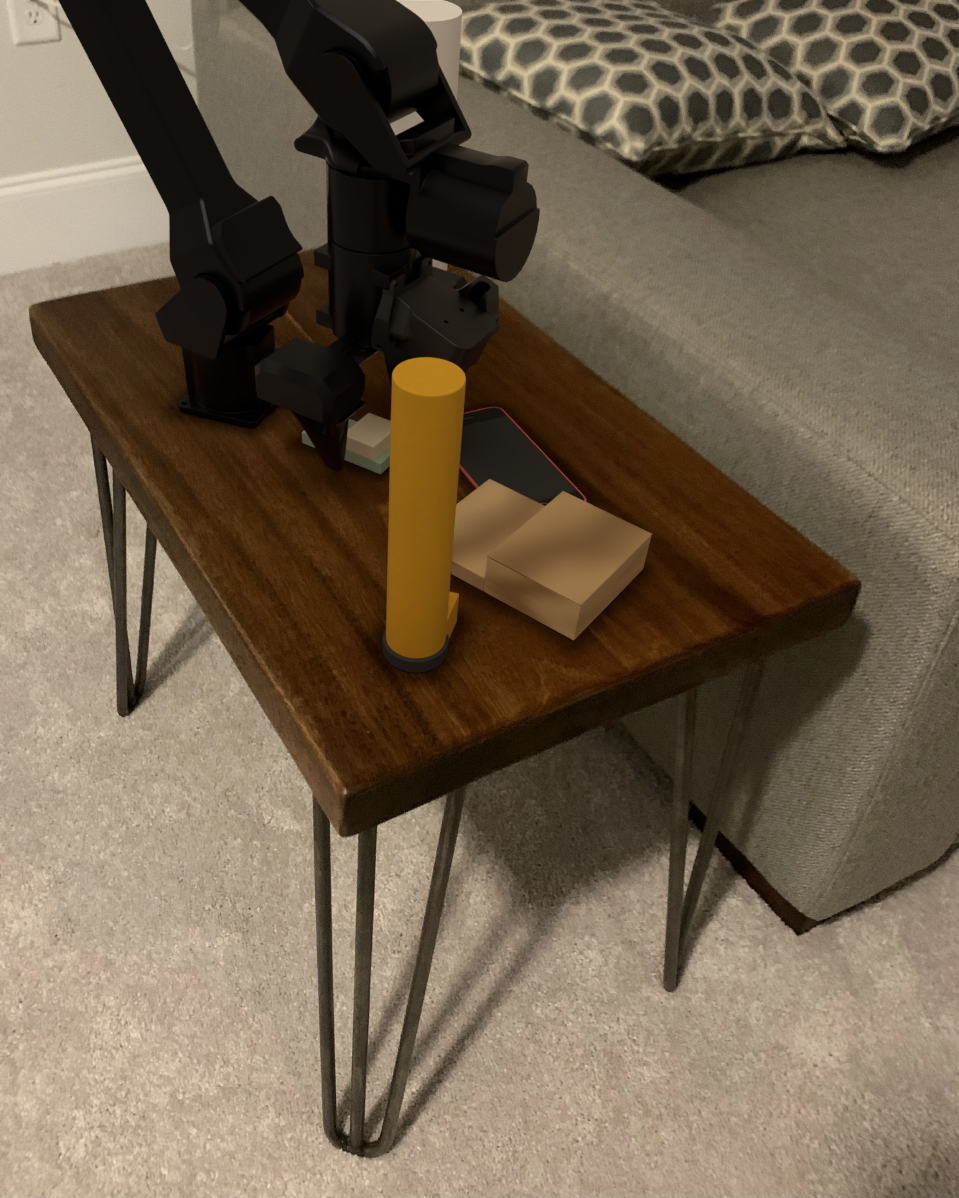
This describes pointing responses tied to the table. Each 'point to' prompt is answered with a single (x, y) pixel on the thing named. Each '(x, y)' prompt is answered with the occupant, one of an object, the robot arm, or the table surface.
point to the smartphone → (509, 457)
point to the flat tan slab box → (545, 554)
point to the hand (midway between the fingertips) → (370, 439)
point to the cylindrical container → (447, 33)
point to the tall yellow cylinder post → (422, 511)
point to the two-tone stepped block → (366, 443)
